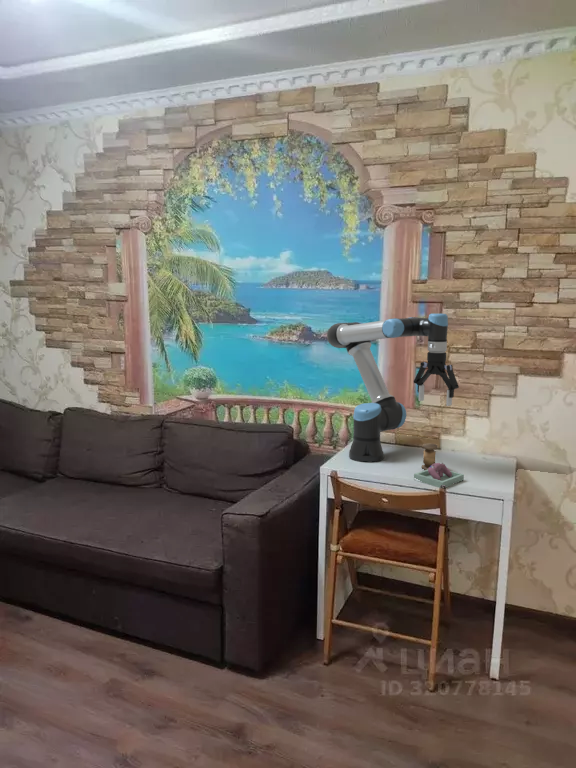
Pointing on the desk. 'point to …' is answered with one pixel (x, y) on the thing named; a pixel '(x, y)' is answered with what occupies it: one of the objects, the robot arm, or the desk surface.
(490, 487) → the desk surface
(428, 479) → the green square tray
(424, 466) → the bobbin
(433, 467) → the video game controller
